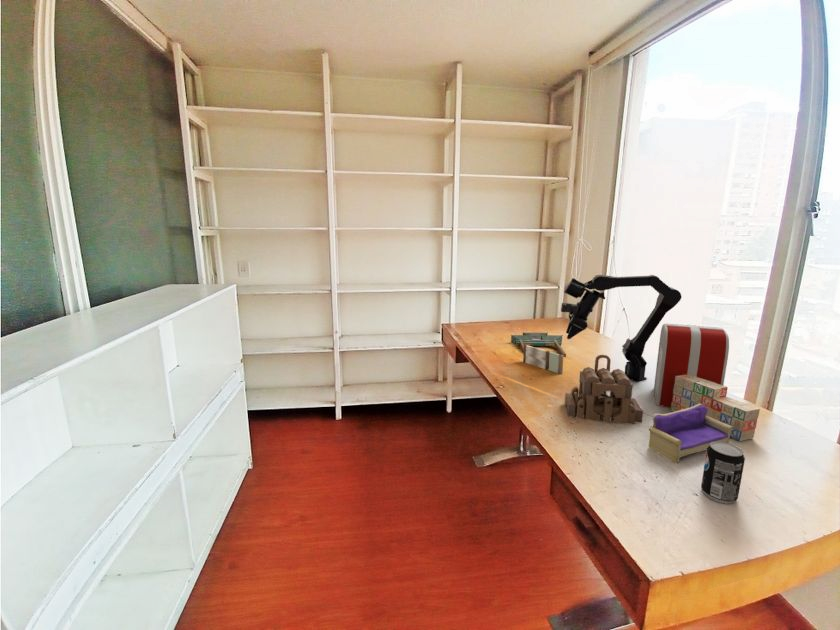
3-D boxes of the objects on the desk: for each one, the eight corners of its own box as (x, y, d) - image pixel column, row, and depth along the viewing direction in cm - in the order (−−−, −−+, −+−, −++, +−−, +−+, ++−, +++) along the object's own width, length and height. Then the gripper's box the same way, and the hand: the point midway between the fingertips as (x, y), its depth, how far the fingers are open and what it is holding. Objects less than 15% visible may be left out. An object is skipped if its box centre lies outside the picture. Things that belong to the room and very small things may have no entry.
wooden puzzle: (568, 419, 125) (572, 365, 121) (563, 400, 138) (567, 351, 134) (644, 426, 119) (650, 369, 115) (631, 406, 133) (636, 354, 129)
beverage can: (709, 482, 92) (717, 437, 90) (743, 499, 87) (751, 451, 84) (694, 492, 89) (701, 445, 87) (727, 509, 84) (736, 460, 81)
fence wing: (548, 370, 166) (549, 352, 164) (550, 369, 167) (551, 351, 165) (560, 374, 161) (561, 356, 159) (563, 373, 162) (564, 355, 160)
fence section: (549, 370, 167) (550, 351, 165) (547, 371, 166) (548, 352, 164) (524, 362, 178) (525, 344, 176) (522, 362, 177) (523, 345, 175)
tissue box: (653, 387, 147) (661, 319, 142) (710, 395, 139) (721, 323, 134) (656, 405, 133) (665, 329, 127) (719, 415, 125) (732, 335, 119)
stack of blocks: (754, 438, 111) (763, 398, 108) (739, 442, 109) (748, 401, 106) (683, 407, 131) (689, 373, 128) (669, 410, 129) (675, 375, 126)
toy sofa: (674, 465, 100) (679, 429, 98) (645, 447, 108) (649, 414, 106) (730, 449, 107) (736, 415, 104) (699, 434, 115) (703, 402, 112)
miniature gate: (517, 350, 186) (509, 330, 214) (516, 361, 187) (508, 339, 216) (574, 351, 183) (559, 330, 212) (573, 361, 185) (558, 340, 213)
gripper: (567, 291, 168) (549, 322, 173) (569, 298, 150) (549, 332, 155) (592, 303, 165) (573, 333, 170) (596, 311, 148) (575, 345, 153)
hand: (567, 335), depth 162 cm, fingers open, 9 cm apart
